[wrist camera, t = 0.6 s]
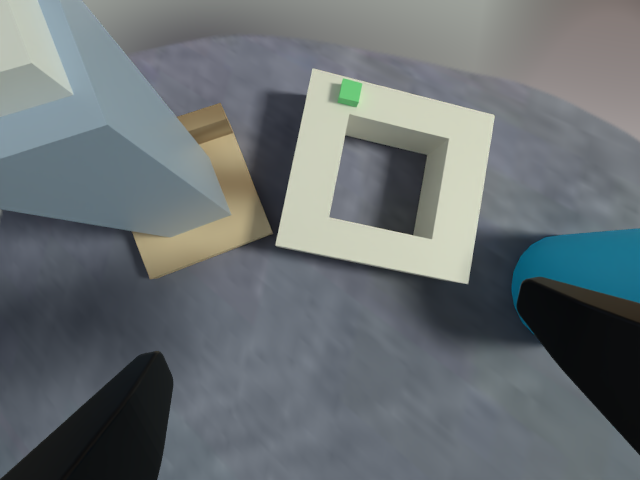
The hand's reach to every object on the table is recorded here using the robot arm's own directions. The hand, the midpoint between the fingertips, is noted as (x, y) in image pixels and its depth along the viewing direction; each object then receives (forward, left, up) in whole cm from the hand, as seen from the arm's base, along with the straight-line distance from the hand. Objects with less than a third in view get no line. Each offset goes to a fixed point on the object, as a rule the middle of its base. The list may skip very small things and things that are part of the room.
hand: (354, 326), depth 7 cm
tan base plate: (+4, +9, -13) cm, 16 cm away
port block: (+7, -3, -13) cm, 15 cm away
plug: (+4, +9, -12) cm, 16 cm away
